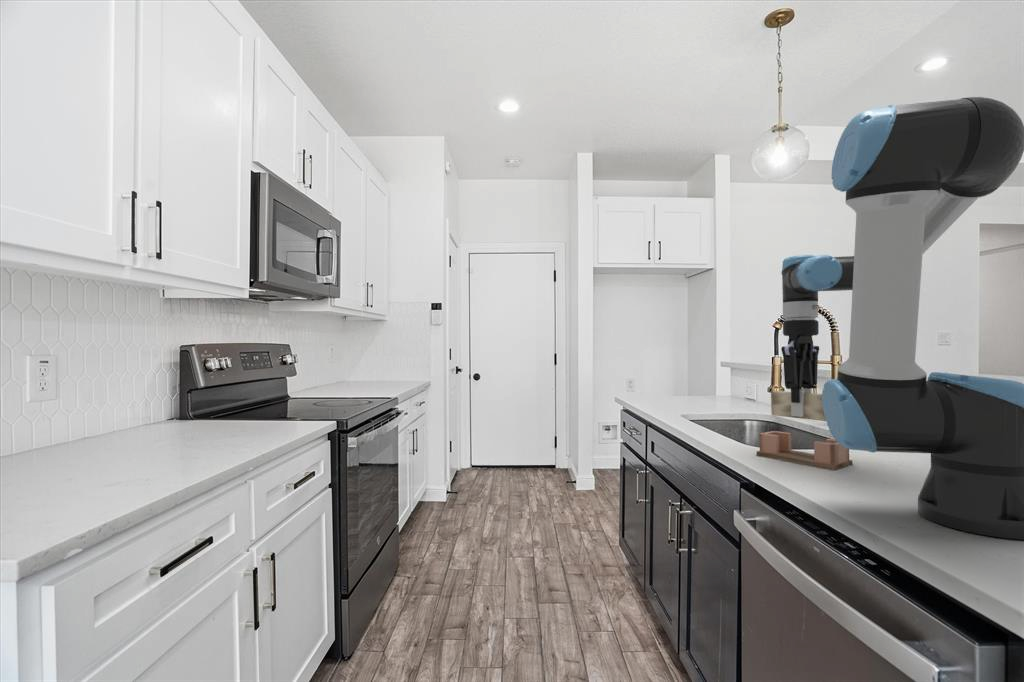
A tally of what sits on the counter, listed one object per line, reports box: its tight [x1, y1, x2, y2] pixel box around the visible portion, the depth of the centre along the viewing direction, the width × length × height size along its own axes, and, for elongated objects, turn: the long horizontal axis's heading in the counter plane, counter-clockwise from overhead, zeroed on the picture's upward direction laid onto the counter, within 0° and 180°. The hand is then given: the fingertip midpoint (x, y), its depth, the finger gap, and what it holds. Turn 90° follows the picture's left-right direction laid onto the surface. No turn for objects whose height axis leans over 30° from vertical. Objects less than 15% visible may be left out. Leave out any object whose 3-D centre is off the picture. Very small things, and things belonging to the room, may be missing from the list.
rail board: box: [755, 449, 854, 471], centre depth 119 cm, size 9×18×1 cm, turn 32°
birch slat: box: [770, 390, 826, 422], centre depth 119 cm, size 14×3×6 cm, turn 32°
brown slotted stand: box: [758, 430, 850, 465], centre depth 119 cm, size 7×18×4 cm, turn 32°
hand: (801, 415), depth 119 cm, fingers closed on birch slat, 3 cm apart
